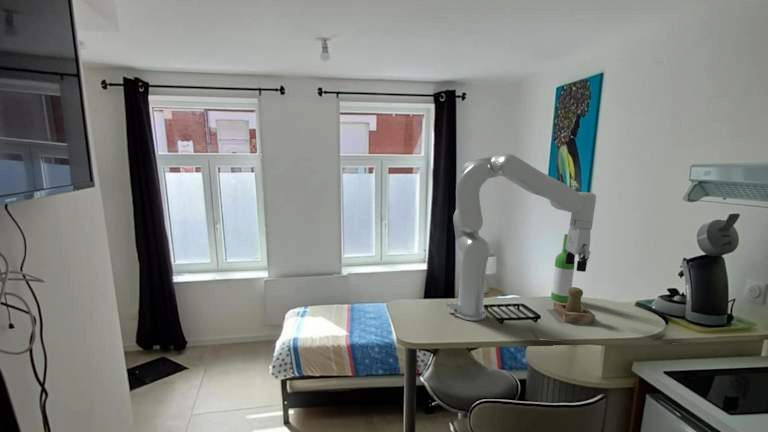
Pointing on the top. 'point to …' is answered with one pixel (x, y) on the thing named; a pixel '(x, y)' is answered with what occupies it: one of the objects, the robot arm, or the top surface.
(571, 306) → the cork
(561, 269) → the wine bottle
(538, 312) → the top surface
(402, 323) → the top surface
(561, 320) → the mat
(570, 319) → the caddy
